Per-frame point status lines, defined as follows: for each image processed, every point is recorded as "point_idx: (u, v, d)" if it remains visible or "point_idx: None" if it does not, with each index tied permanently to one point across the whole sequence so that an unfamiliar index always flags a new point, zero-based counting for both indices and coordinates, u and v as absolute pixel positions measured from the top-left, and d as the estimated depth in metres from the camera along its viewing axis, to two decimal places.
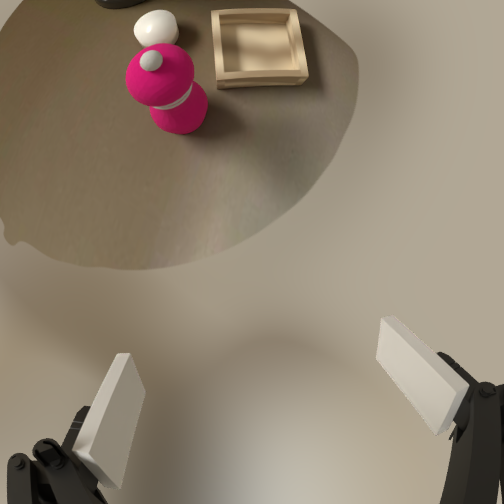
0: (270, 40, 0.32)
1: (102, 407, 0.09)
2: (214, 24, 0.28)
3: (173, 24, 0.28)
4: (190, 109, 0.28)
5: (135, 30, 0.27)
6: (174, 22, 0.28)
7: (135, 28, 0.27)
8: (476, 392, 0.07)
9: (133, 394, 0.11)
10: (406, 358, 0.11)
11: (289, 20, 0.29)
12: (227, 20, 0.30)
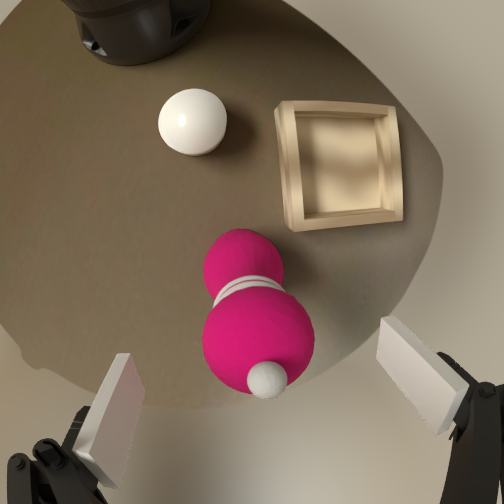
0: (355, 148, 0.27)
1: (102, 407, 0.09)
2: (289, 130, 0.23)
3: (224, 122, 0.23)
4: None
5: (161, 127, 0.22)
6: (225, 118, 0.22)
7: (161, 122, 0.22)
8: (476, 392, 0.07)
9: (133, 394, 0.11)
10: (406, 358, 0.11)
11: (385, 123, 0.24)
12: (301, 114, 0.25)
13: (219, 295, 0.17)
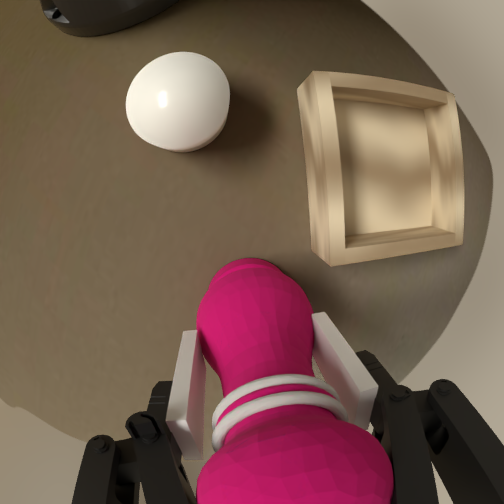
0: (404, 146, 0.19)
1: (186, 377, 0.11)
2: (325, 114, 0.15)
3: (226, 97, 0.14)
4: None
5: (130, 112, 0.13)
6: (227, 91, 0.14)
7: (130, 105, 0.13)
8: (386, 398, 0.08)
9: (201, 368, 0.14)
10: (328, 354, 0.12)
11: (443, 115, 0.16)
12: (338, 94, 0.16)
13: (222, 407, 0.09)
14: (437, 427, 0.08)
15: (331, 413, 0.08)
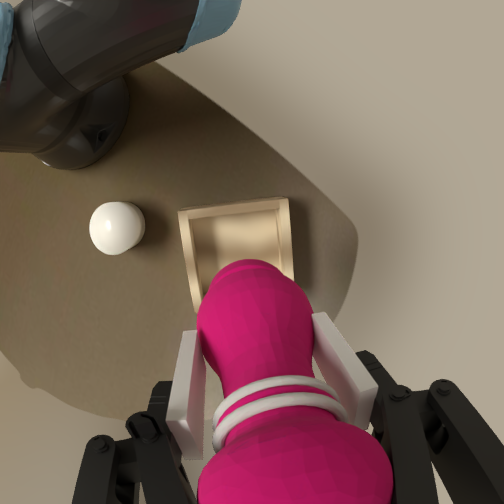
0: (254, 236, 0.34)
1: (186, 377, 0.11)
2: (184, 237, 0.30)
3: (132, 221, 0.29)
4: None
5: (95, 242, 0.29)
6: (131, 217, 0.29)
7: (93, 238, 0.29)
8: (386, 398, 0.08)
9: (201, 368, 0.14)
10: (328, 354, 0.12)
11: (279, 215, 0.32)
12: None
13: (223, 408, 0.09)
14: (437, 427, 0.08)
15: (331, 414, 0.08)
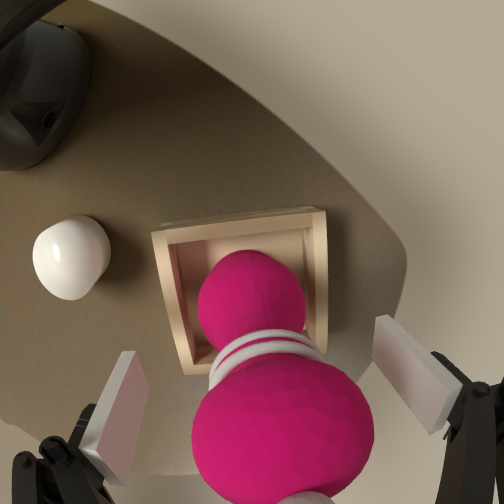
0: None
1: (108, 404, 0.09)
2: (163, 271, 0.19)
3: (72, 236, 0.17)
4: None
5: (60, 295, 0.19)
6: (68, 232, 0.17)
7: (56, 293, 0.19)
8: (470, 392, 0.07)
9: (138, 392, 0.12)
10: (400, 357, 0.11)
11: (310, 236, 0.20)
12: None
13: (218, 360, 0.11)
14: (501, 421, 0.06)
15: None
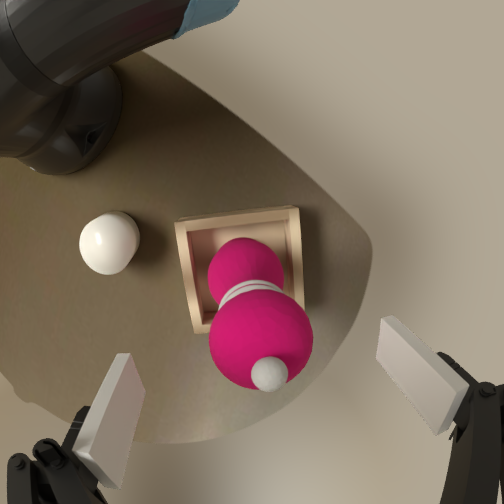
0: None
1: (102, 407, 0.09)
2: (182, 251, 0.27)
3: (109, 220, 0.25)
4: None
5: (108, 272, 0.27)
6: (105, 219, 0.25)
7: (104, 271, 0.27)
8: (476, 392, 0.07)
9: (133, 394, 0.11)
10: (405, 358, 0.11)
11: (288, 226, 0.28)
12: None
13: (224, 298, 0.19)
14: None
15: None
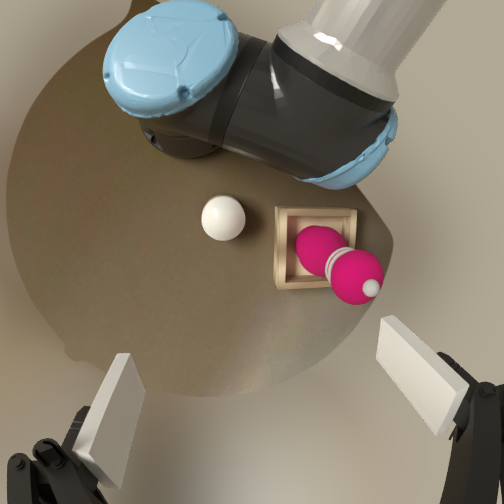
0: None
1: (102, 407, 0.09)
2: (282, 228, 0.40)
3: (223, 199, 0.38)
4: None
5: (229, 238, 0.40)
6: (220, 199, 0.38)
7: (226, 238, 0.40)
8: (476, 392, 0.07)
9: (133, 394, 0.11)
10: (406, 358, 0.11)
11: (348, 221, 0.42)
12: None
13: (331, 256, 0.32)
14: None
15: None
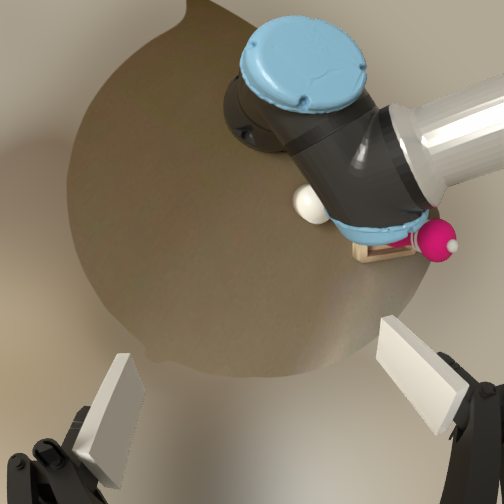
0: None
1: (102, 407, 0.09)
2: None
3: (307, 192, 0.42)
4: None
5: None
6: (305, 194, 0.42)
7: None
8: (476, 392, 0.07)
9: (133, 394, 0.11)
10: (406, 358, 0.11)
11: None
12: None
13: None
14: None
15: None
